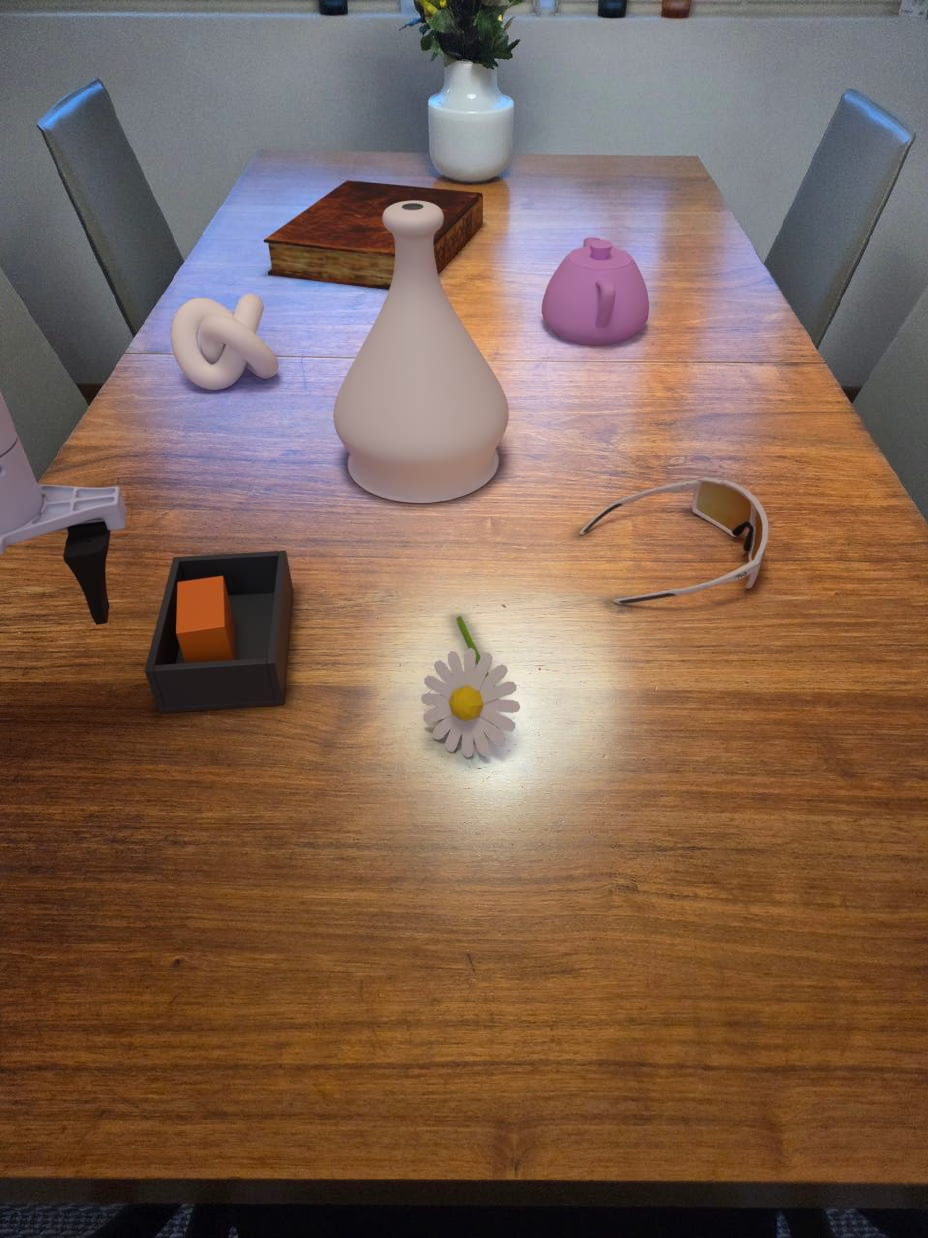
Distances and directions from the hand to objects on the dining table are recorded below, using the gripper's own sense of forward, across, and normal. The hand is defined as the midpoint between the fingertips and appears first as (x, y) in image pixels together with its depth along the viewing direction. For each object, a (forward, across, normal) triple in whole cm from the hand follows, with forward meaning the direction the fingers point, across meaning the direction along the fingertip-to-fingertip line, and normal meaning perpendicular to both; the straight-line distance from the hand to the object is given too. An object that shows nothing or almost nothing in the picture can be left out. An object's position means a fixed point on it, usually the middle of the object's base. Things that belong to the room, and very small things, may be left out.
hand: (43, 623), depth 59 cm
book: (+10, +36, +91) cm, 98 cm away
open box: (+9, +11, +5) cm, 15 cm away
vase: (+10, +31, +29) cm, 44 cm away
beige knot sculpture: (+10, +13, +52) cm, 54 cm away
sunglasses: (+10, +50, +8) cm, 52 cm away
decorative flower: (+10, +27, -4) cm, 29 cm away
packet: (+9, +10, +4) cm, 14 cm away
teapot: (+10, +59, +57) cm, 83 cm away
